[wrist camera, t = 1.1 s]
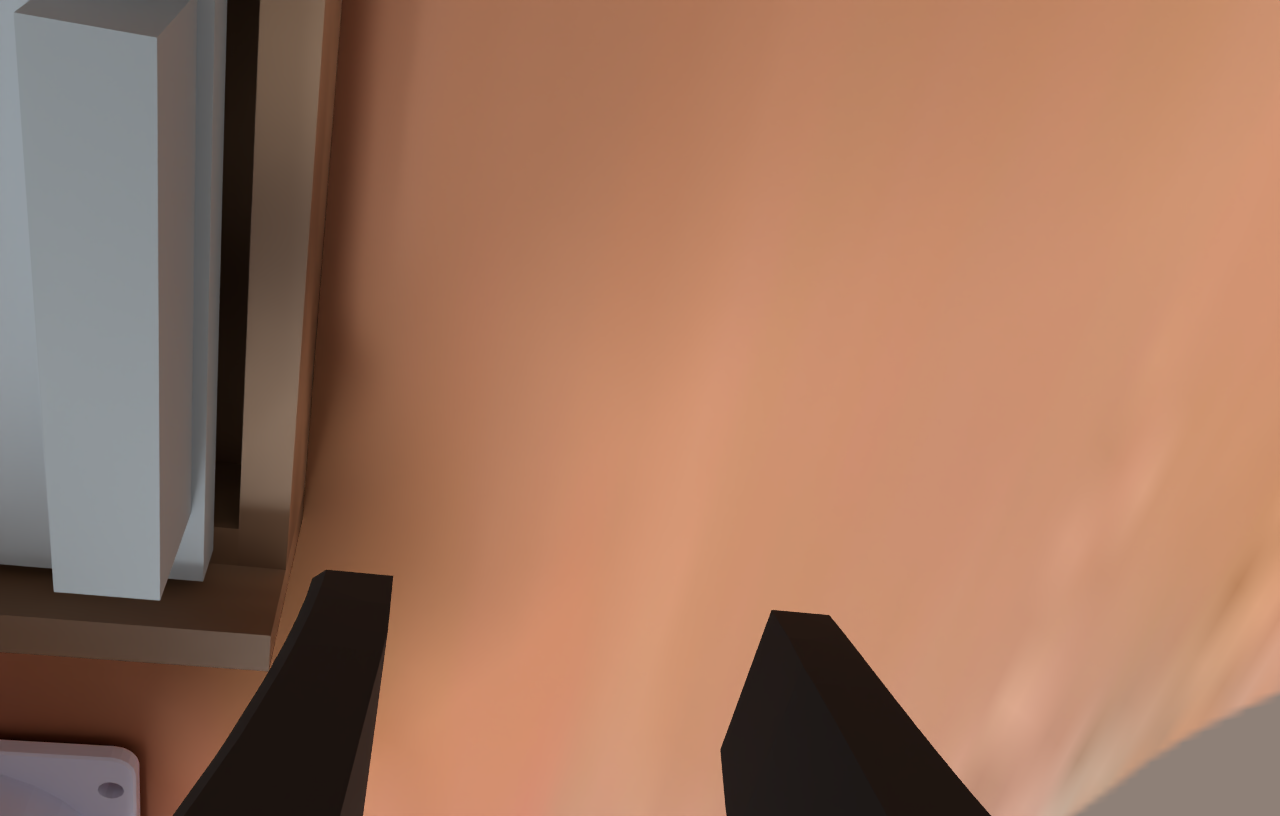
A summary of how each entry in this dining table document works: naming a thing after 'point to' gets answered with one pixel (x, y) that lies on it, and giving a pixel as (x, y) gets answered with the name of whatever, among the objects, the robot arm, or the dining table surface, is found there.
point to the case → (235, 369)
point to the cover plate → (110, 289)
